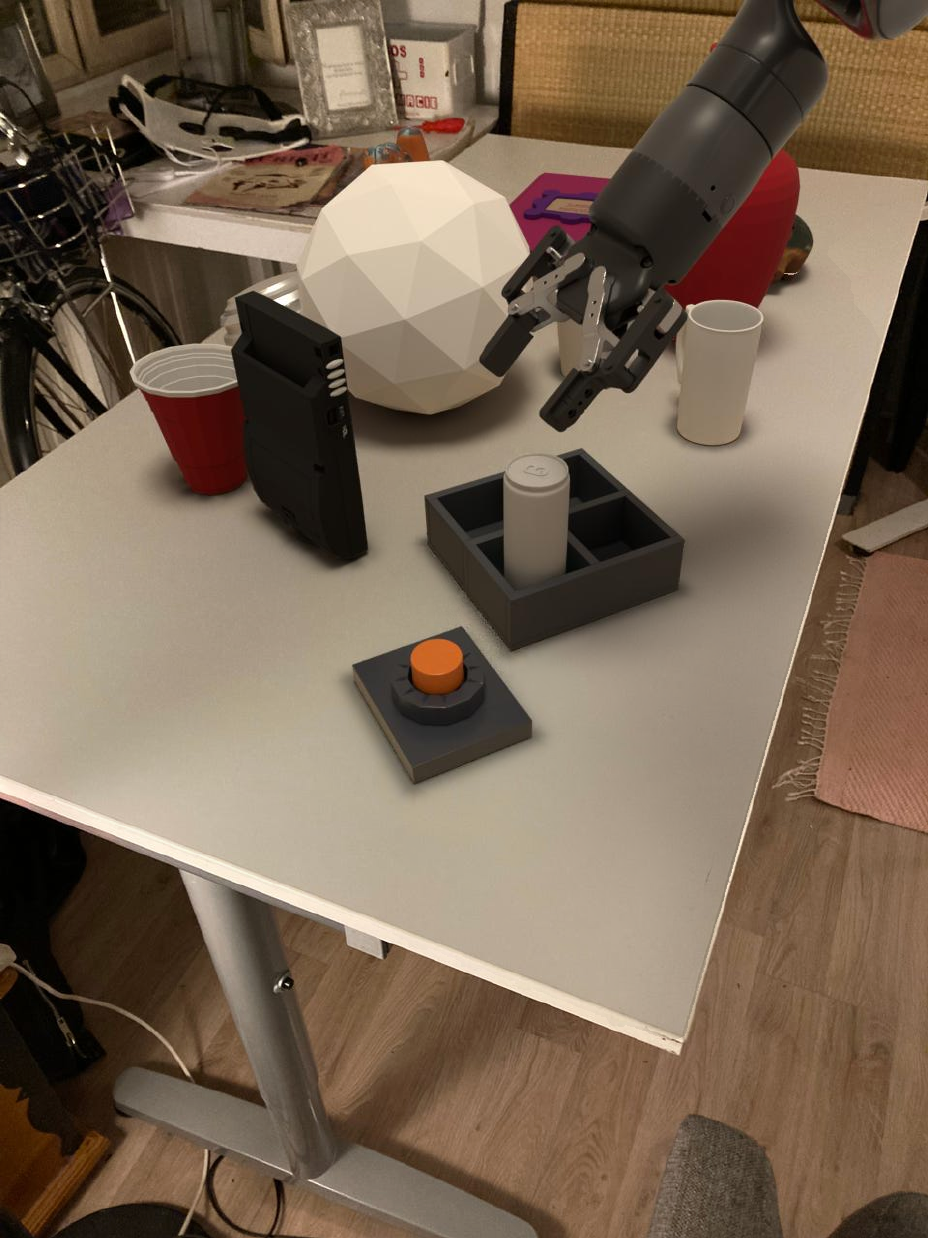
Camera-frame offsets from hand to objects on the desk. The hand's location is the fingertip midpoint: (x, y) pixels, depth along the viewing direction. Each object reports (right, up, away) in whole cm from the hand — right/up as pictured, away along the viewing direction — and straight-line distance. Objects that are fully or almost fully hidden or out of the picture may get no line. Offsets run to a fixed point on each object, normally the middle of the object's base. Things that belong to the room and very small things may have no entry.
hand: (517, 396), depth 65 cm
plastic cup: (-27, -1, +29) cm, 40 cm away
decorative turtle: (+36, +30, +60) cm, 76 cm away
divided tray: (+3, -10, +17) cm, 20 cm away
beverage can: (+2, -13, +13) cm, 18 cm away
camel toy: (-11, +34, +67) cm, 76 cm away
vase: (+24, +17, +46) cm, 55 cm away
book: (+11, +32, +64) cm, 73 cm away
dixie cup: (+10, +12, +42) cm, 45 cm away
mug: (+20, +5, +33) cm, 39 cm away
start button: (-5, -19, +3) cm, 20 cm away
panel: (-5, -21, +5) cm, 23 cm away
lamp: (-13, +10, +40) cm, 43 cm away
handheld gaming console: (-17, -7, +21) cm, 28 cm away
